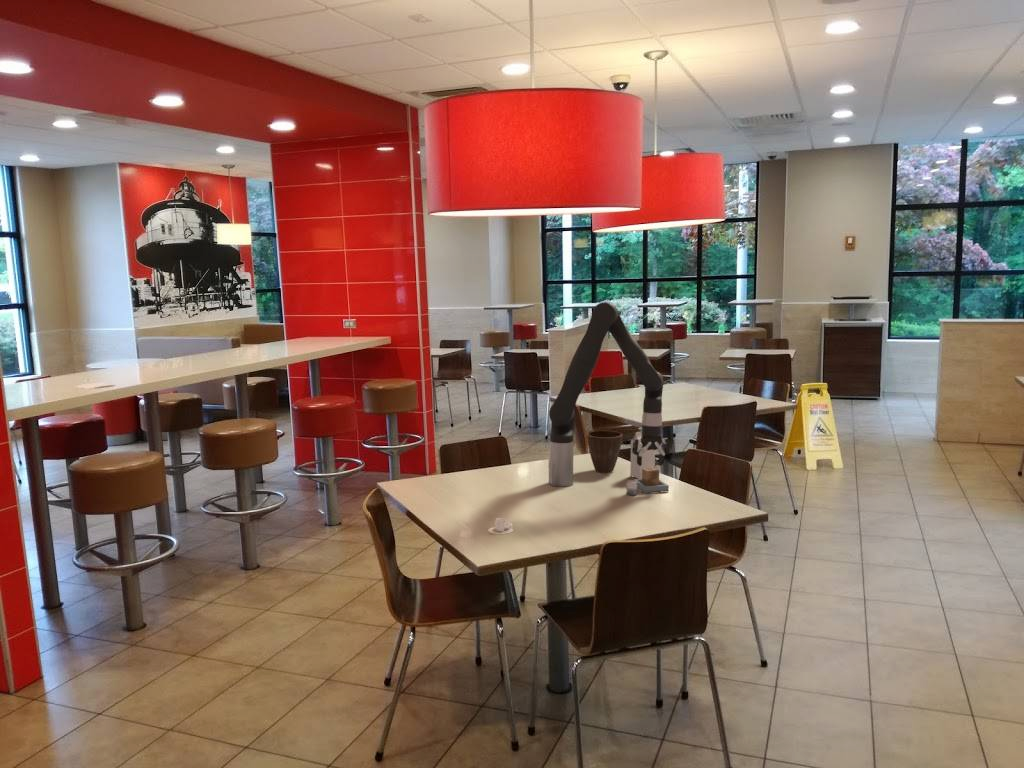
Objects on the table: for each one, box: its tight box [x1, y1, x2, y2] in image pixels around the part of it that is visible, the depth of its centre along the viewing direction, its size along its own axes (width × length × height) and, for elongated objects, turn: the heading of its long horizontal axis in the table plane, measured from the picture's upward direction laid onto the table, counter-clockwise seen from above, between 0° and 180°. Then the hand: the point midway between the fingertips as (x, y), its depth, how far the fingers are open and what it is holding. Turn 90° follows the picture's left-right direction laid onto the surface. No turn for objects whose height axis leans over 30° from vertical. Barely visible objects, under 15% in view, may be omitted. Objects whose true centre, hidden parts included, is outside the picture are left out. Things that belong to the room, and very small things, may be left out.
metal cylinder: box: [625, 480, 638, 497], centre depth 310 cm, size 4×4×5 cm
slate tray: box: [632, 478, 670, 494], centre depth 319 cm, size 10×12×2 cm
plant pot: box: [586, 430, 623, 474], centre depth 348 cm, size 15×15×16 cm
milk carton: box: [629, 431, 656, 479], centre depth 336 cm, size 7×7×19 cm
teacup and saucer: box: [487, 517, 514, 535], centre depth 267 cm, size 9×8×4 cm
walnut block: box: [642, 467, 660, 486], centre depth 319 cm, size 5×5×7 cm
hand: (650, 465), depth 318 cm, fingers open, 8 cm apart
